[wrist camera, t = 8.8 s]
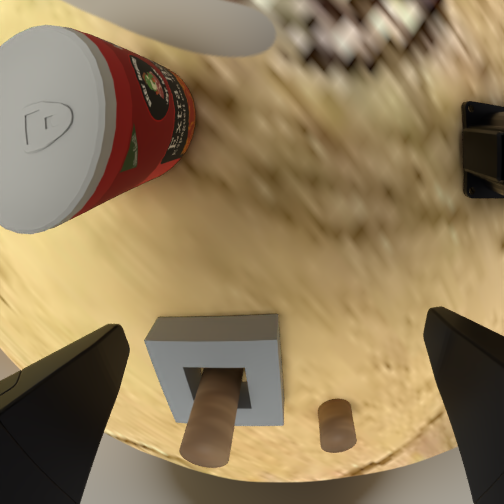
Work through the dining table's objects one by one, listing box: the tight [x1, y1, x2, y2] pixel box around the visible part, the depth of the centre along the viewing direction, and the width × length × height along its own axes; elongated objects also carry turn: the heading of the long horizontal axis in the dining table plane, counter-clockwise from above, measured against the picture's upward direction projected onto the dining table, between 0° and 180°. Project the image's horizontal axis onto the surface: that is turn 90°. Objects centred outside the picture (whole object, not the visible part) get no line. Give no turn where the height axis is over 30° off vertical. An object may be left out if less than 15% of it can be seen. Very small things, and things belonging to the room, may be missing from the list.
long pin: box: [180, 368, 244, 468], centre depth 20 cm, size 3×3×9 cm
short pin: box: [318, 399, 357, 453], centre depth 24 cm, size 3×3×4 cm
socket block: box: [144, 314, 284, 426], centre depth 23 cm, size 9×9×3 cm
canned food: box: [0, 25, 195, 234], centre depth 13 cm, size 8×8×11 cm
